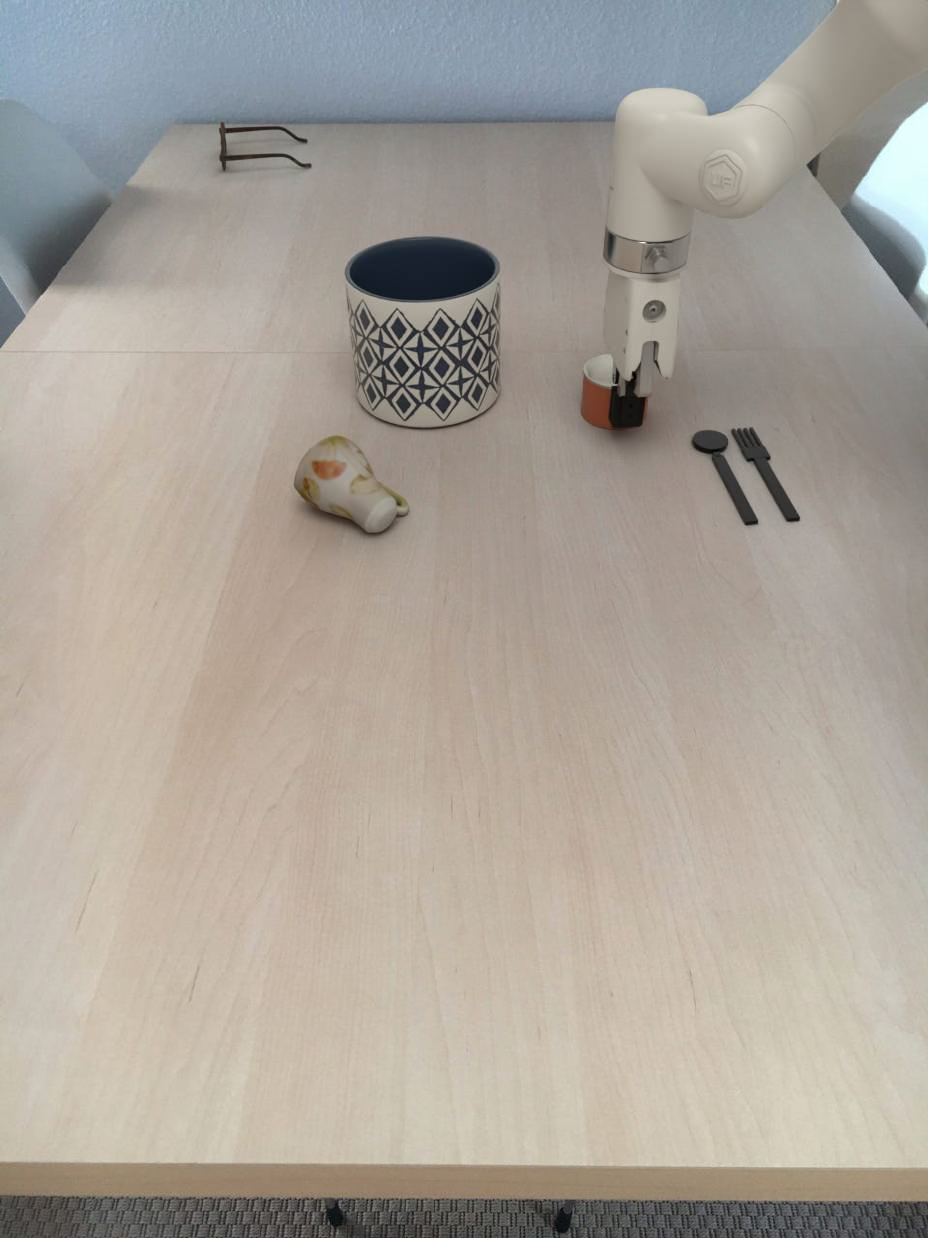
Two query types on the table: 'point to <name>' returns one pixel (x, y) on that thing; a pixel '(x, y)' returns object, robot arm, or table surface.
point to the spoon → (724, 470)
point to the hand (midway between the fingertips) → (624, 423)
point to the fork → (765, 470)
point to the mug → (346, 485)
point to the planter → (425, 329)
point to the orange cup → (599, 391)
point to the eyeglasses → (224, 157)
